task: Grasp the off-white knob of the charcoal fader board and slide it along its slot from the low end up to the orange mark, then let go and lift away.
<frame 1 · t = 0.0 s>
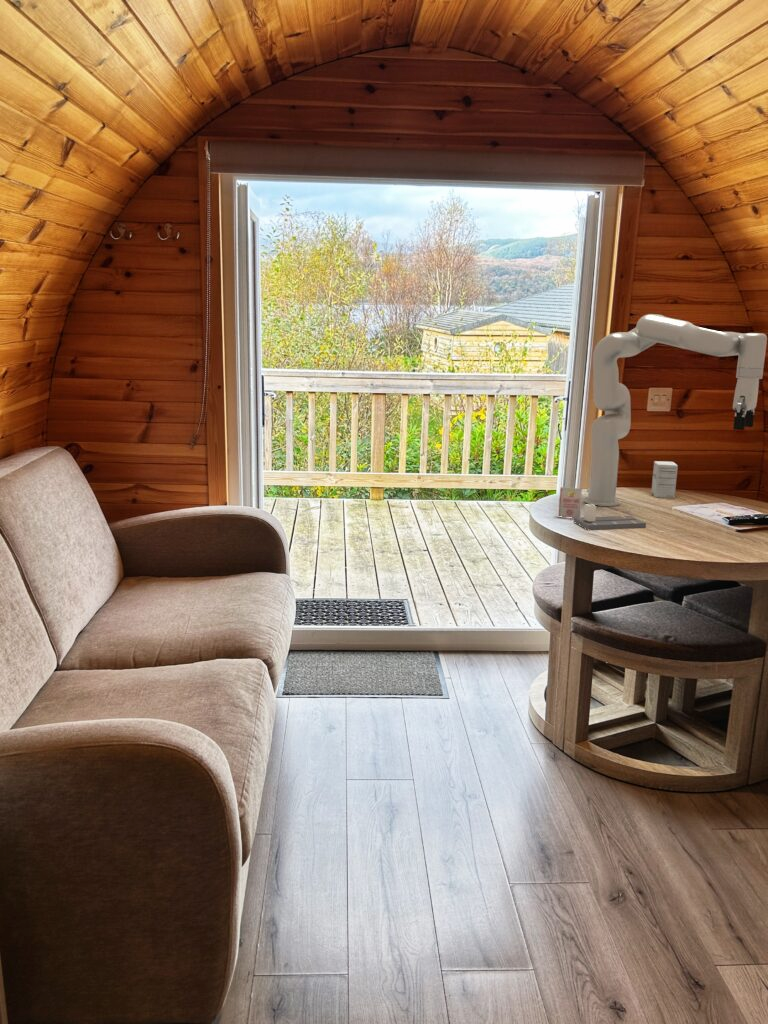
hand: (743, 428, 254), 31 cm above the table, tool pointing down, fingers open, 9 cm apart
supplement box: (662, 496, 302), on the table
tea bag: (569, 518, 267), on the table
fader board: (609, 524, 258), on the table
fader knob: (590, 512, 255), point 4 cm above the table, slide at -7.0 cm
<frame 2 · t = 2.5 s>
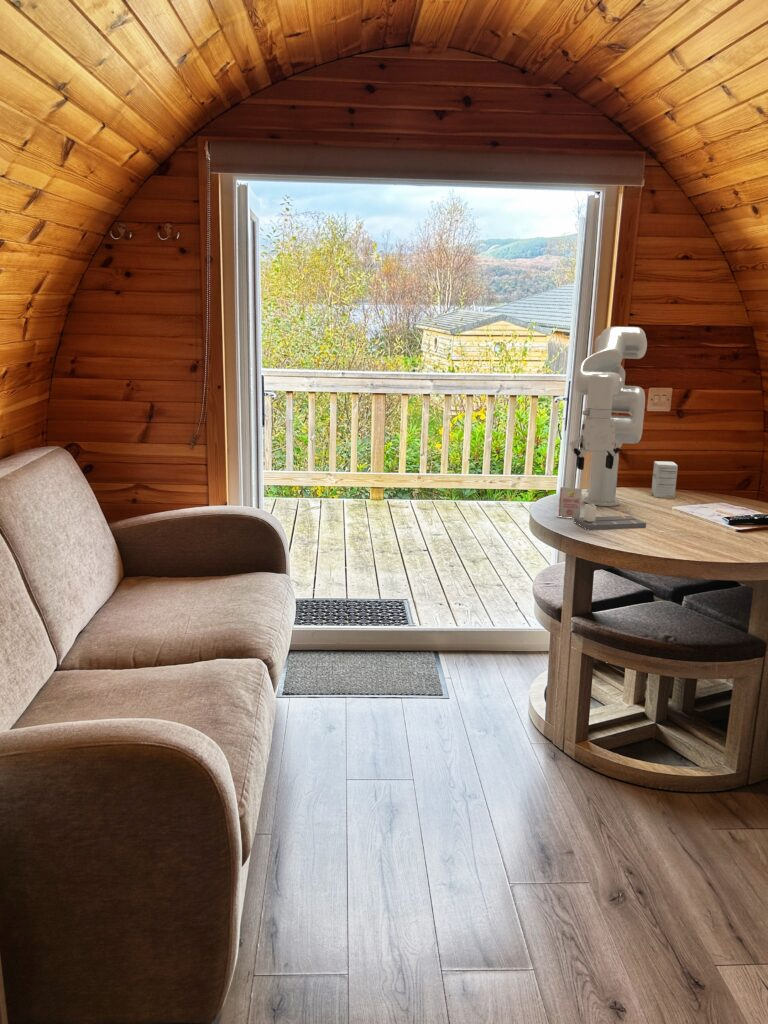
hand: (594, 468, 252), 19 cm above the table, tool pointing down, fingers open, 9 cm apart
nothing on the table moved.
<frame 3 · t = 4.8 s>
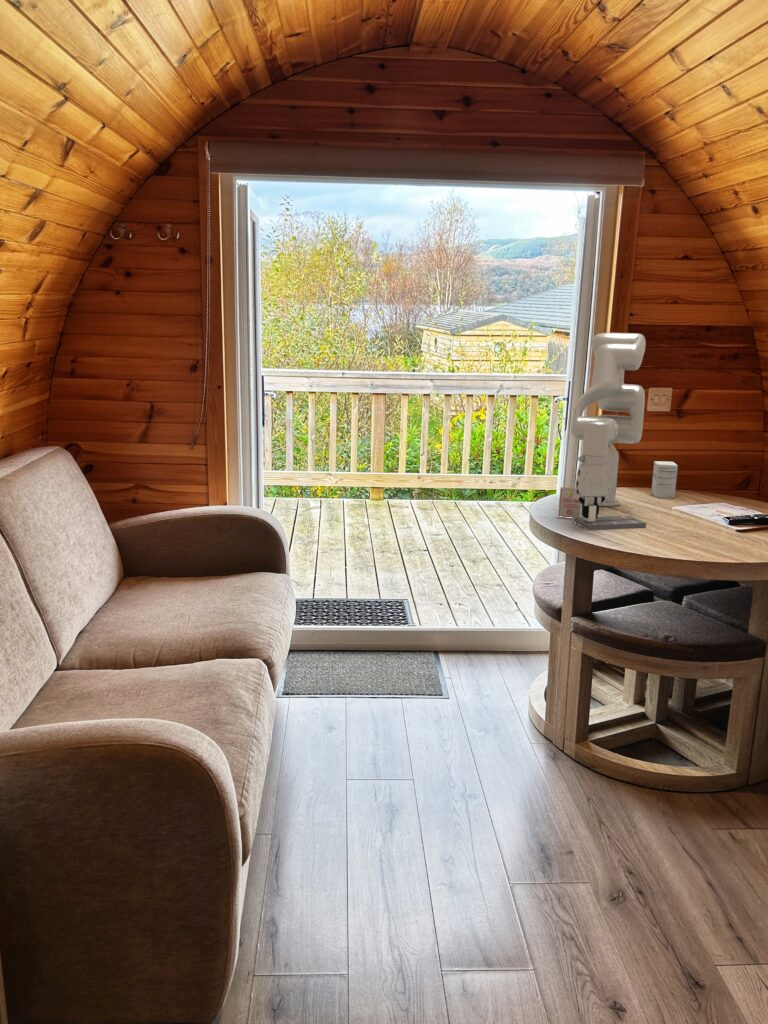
hand: (589, 516, 256), 3 cm above the table, tool pointing down, fingers closed on fader knob, 2 cm apart
fader knob: (590, 512, 255), point 4 cm above the table, slide at -7.0 cm, touching gripper
everything else where it was.
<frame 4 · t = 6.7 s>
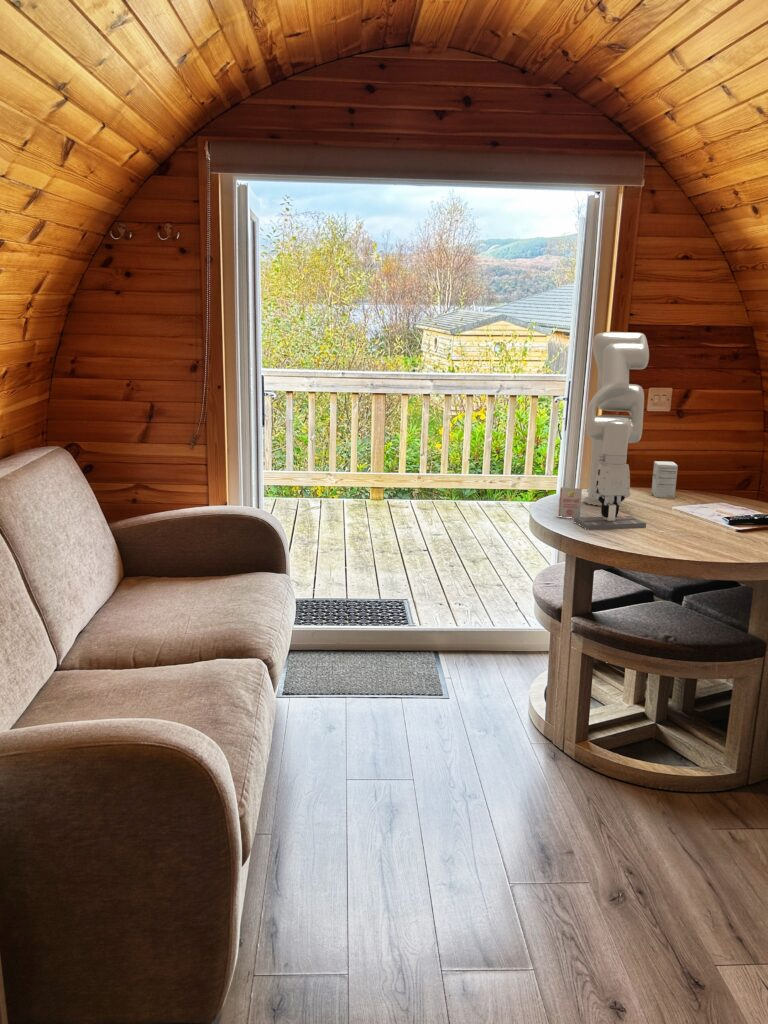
hand: (609, 515, 257), 3 cm above the table, tool pointing down, fingers closed on fader knob, 2 cm apart
fader knob: (609, 511, 257), point 4 cm above the table, slide at -0.2 cm, touching gripper
everything else where it was.
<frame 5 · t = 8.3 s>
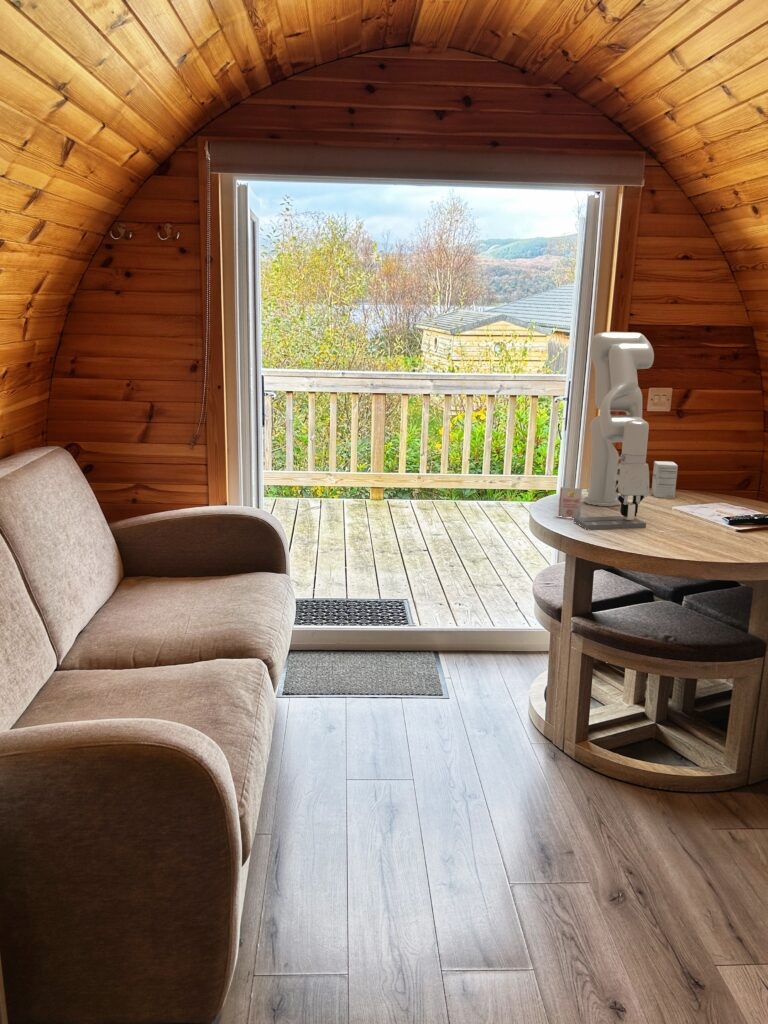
hand: (628, 515, 258), 3 cm above the table, tool pointing down, fingers closed on fader knob, 2 cm apart
fader knob: (628, 511, 258), point 4 cm above the table, slide at 6.4 cm, touching gripper
everything else where it was.
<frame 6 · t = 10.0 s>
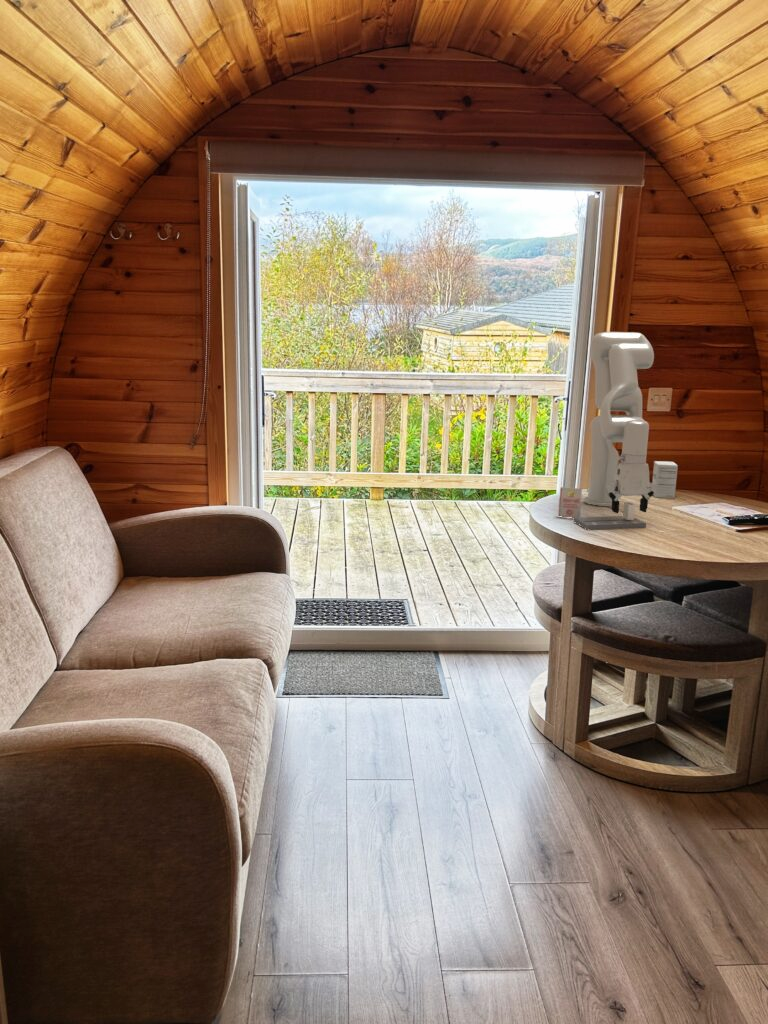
hand: (629, 511, 258), 4 cm above the table, tool pointing down, fingers open, 9 cm apart
fader knob: (629, 511, 258), point 4 cm above the table, slide at 6.5 cm
everything else where it was.
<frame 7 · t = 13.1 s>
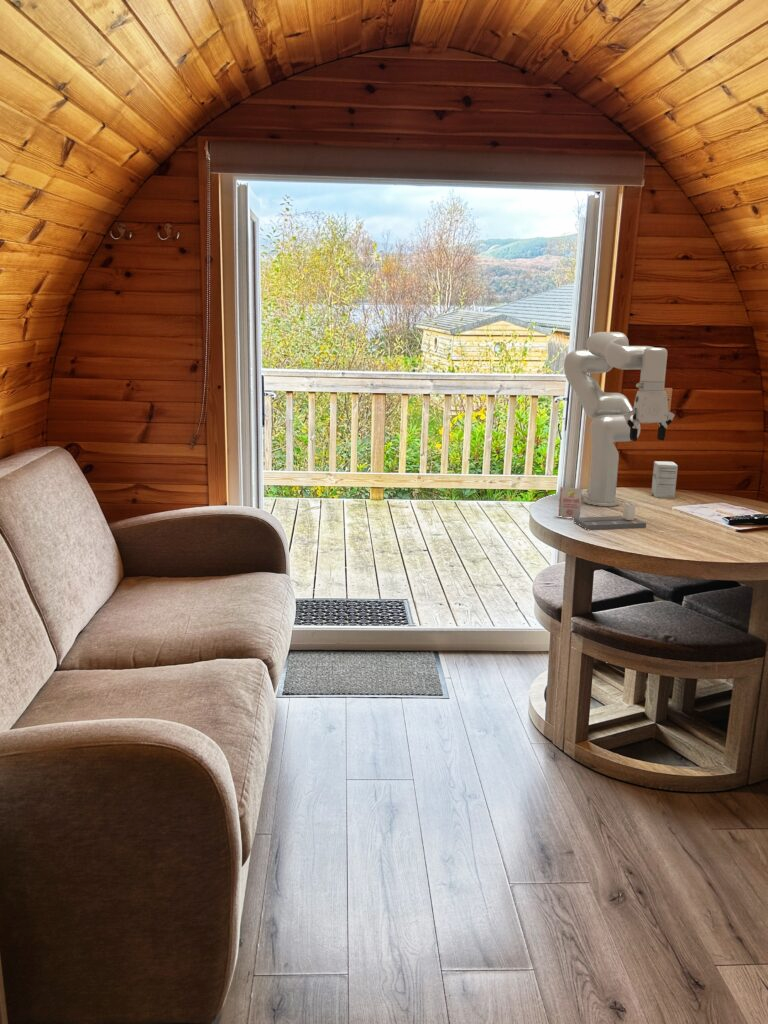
hand: (647, 440, 260), 26 cm above the table, tool pointing down, fingers open, 9 cm apart
nothing on the table moved.
at the end: fader knob slide at 6.5 cm; the gripper is holding nothing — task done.
